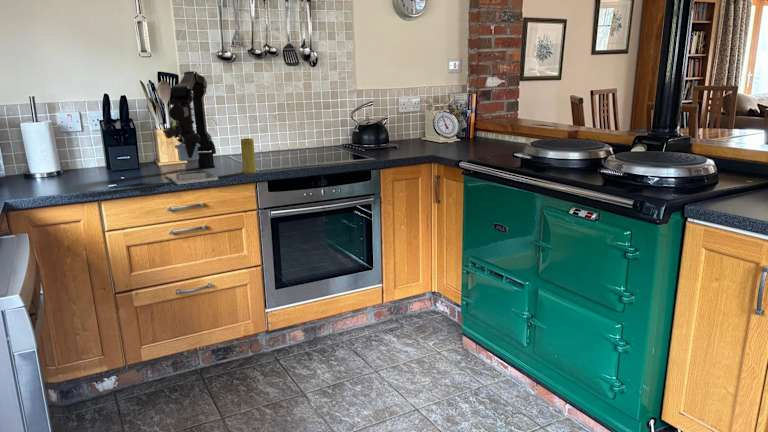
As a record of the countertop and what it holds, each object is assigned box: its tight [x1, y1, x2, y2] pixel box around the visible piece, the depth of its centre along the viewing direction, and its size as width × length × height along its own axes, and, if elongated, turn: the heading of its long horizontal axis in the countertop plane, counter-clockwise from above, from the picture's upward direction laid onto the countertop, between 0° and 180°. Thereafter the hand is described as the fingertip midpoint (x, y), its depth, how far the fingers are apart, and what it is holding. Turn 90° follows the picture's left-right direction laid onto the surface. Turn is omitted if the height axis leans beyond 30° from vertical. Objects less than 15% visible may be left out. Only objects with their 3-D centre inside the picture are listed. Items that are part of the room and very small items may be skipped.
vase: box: [240, 138, 258, 174], centre depth 245 cm, size 6×6×14 cm
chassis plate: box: [165, 169, 219, 185], centre depth 236 cm, size 16×20×3 cm
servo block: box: [174, 143, 200, 162], centre depth 230 cm, size 9×4×7 cm, turn 122°
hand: (188, 157), depth 231 cm, fingers closed on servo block, 4 cm apart
